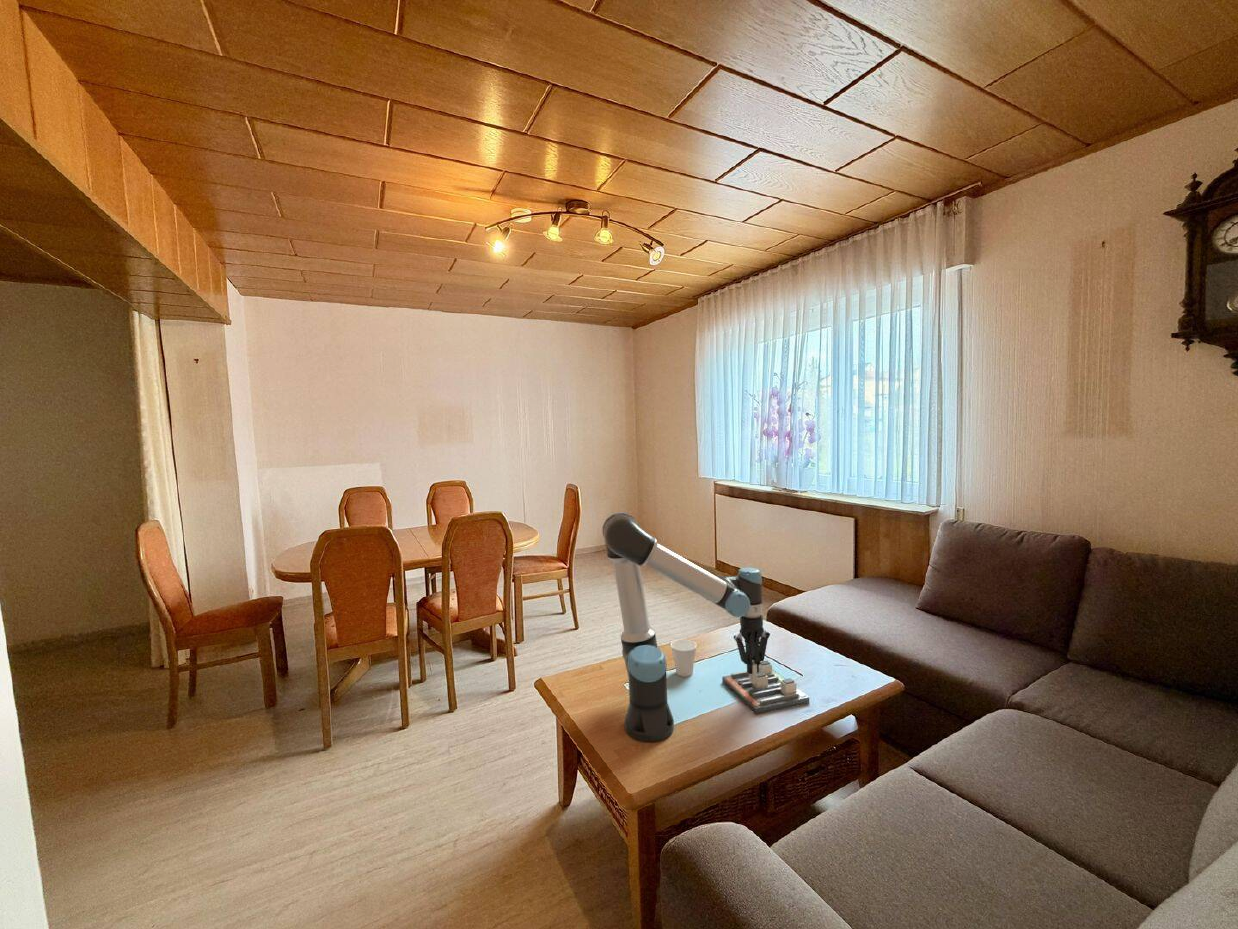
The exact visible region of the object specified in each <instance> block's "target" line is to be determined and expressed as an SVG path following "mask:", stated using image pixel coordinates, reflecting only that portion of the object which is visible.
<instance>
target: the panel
mask: <svg viewBox="0 0 1238 929" xmlns="http://www.w3.org/2000/svg"><path fill="white" fill-rule="evenodd" d="M766 675H767V676H768V686H764V687H759V688H755V687H754V686H753V683H752V682H750V681H749V673H748V672H747V670H745V671H744V670H743V671H740V672H734V673H731V675H726V676H722V677H721V679H722V681H721V682H722V683H723V685H725V686H726V688H727V689H729V690H730V691H731V692H732V693H733V694H734V695H735V696H736V697H737V698H738V699H739V700H740V701H741V702H742V703H743V704H744V705H745V706H746V707H747V708H748V709H749V710H750V711H751V712H752V713H753V714H754V715H755V716H757V715H761V714H767V713H771V712H775V711H781V710H786V709H789V707H790V708H794V707H798V706H797V705H799V706H803V705H808V704H810V696H808V695H807V694H806V693H804V692H803V691H802V690H801V689H799V688H798V687H797V692H796V693H791V694H786V695H784V694H782V693H781V680H784V679H786V678H785V677H784V676H782V675H781V674H780V673H778V672H777V671H775V670H774V669H773V668H772V673H771V674H766ZM807 703H808V704H807ZM793 706H794V707H793Z"/></svg>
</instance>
